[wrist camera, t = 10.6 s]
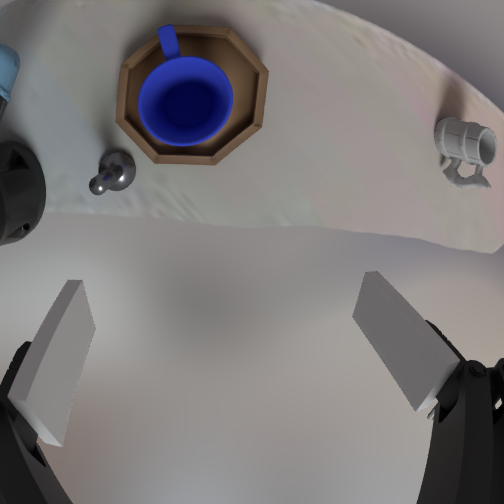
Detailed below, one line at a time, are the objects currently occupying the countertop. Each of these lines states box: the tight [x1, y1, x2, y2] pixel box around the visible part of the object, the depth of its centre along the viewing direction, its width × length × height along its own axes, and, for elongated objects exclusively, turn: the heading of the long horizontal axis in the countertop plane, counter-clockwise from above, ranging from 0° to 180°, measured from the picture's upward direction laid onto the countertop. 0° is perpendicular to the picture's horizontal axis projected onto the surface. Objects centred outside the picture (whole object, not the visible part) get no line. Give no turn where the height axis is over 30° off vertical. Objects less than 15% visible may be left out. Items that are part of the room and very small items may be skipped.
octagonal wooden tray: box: [116, 25, 269, 165], centre depth 30 cm, size 17×17×4 cm
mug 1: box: [138, 25, 233, 146], centre depth 25 cm, size 8×12×10 cm
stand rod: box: [89, 152, 136, 195], centre depth 30 cm, size 5×5×8 cm
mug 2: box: [434, 117, 497, 190], centre depth 35 cm, size 8×12×12 cm, turn 171°
